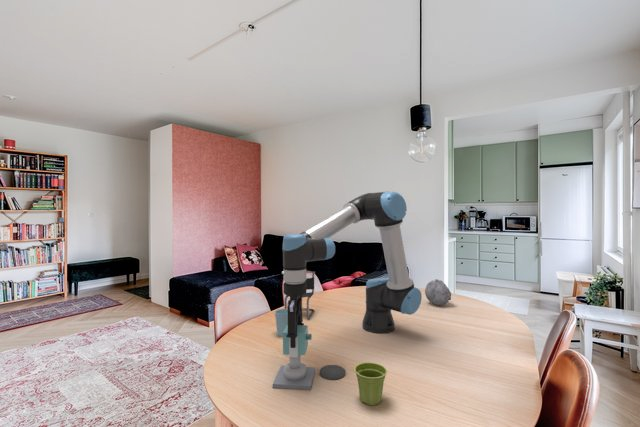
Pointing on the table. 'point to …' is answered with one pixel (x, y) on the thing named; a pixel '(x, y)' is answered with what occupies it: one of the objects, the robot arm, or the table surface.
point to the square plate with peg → (294, 375)
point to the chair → (308, 286)
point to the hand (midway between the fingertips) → (295, 351)
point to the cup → (281, 320)
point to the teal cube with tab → (302, 339)
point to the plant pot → (370, 381)
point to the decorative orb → (437, 292)
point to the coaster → (332, 372)
